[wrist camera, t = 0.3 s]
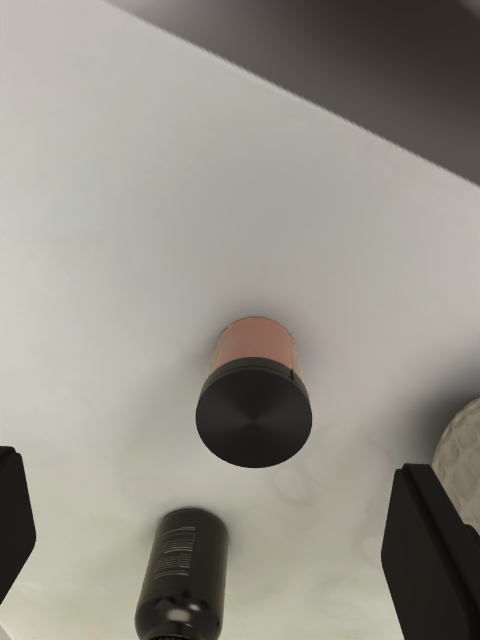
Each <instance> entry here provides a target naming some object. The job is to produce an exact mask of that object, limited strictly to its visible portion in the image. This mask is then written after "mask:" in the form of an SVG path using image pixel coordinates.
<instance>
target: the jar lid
mask: <svg viewBox="0 0 480 640" xmlns="http://www.w3.org/2000/svg"><path fill="white" fill-rule="evenodd" d="M196 426H197V430H198V433H199V435H200V437H201V439H202V441H203V443H204V444H205V445H206V447H207V448H208V449H209V450H210V451H211V452H212V453H213V454H215V455H216V456H217V457H219V458H220V459H222V460H224V461H226V462H228V463H230V464H233V465H236V466H240V467H246V468H265V467H270V466H274V465H277V464H280V463H282V462H284V461H286V460H288V459H289V458H291V457H292V456H294V455H295V454H296V453H297V452H298V451H299V450H300V449H301V448H302V447H303V445H304V444H305V442H306V441H307V439H308V437H309V434H310V432H311V427H312V412H311V406H310V401H309V396H308V393H307V390H306V387H305V385H304V384H303V382H302V380H301V379H300V378H299V377H298V375H297V374H296V373H295V372H294V371H293V369H290V368H288V367H287V366H285V365H284V364H282V363H280V362H277V361H275V360H272V359H268V358H263V357H243V358H238V359H235V360H232V361H229V362H227V363H225V364H223V365H222V366H220V367H219V368H217V369H216V370H215V371H214V372H213V373H212V374H211V375H210V376H209V377H208V378H207V380H206V381H205V383H204V385H203V387H202V390H201V393H200V397H199V401H198V405H197V409H196Z"/></svg>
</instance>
